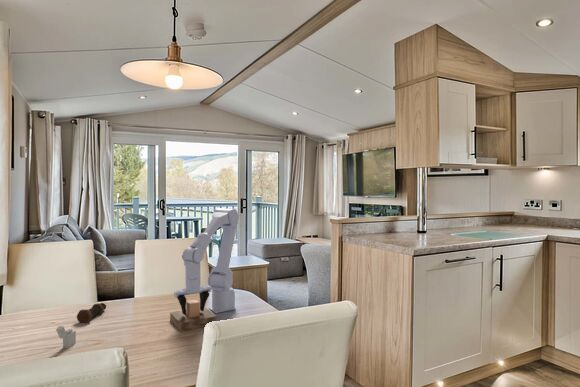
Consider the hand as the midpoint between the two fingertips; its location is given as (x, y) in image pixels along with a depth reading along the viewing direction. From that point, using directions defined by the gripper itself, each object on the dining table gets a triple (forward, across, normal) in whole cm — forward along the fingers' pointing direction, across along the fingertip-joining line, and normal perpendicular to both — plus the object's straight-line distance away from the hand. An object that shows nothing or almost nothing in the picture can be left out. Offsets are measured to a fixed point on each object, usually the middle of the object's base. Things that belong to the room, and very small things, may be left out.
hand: (193, 312), depth 146 cm
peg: (+4, 0, 0) cm, 4 cm away
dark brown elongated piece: (+4, +32, -29) cm, 43 cm away
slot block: (+4, 0, 0) cm, 4 cm away
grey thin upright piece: (+4, +43, -1) cm, 43 cm away
